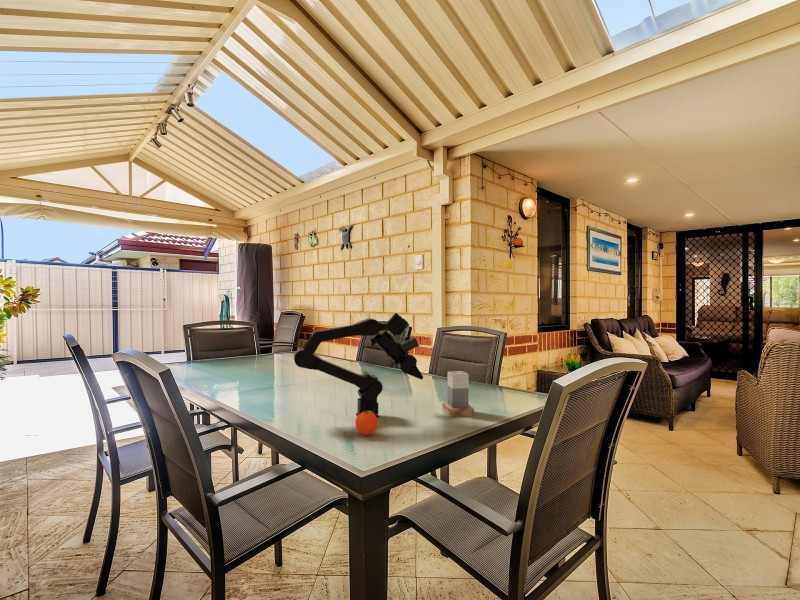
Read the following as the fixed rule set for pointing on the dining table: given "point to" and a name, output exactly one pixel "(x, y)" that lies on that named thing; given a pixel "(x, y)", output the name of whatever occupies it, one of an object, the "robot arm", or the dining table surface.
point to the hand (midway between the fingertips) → (419, 376)
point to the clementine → (366, 423)
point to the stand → (458, 411)
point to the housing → (458, 389)
